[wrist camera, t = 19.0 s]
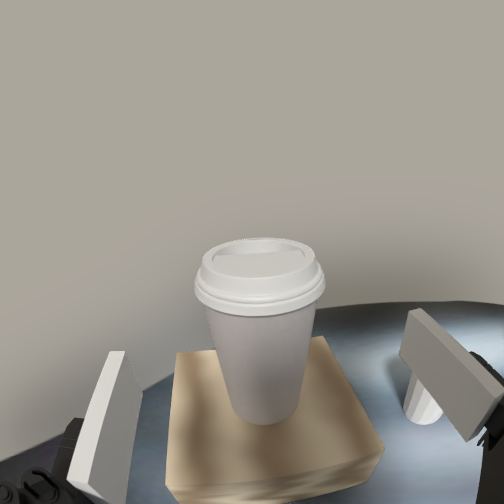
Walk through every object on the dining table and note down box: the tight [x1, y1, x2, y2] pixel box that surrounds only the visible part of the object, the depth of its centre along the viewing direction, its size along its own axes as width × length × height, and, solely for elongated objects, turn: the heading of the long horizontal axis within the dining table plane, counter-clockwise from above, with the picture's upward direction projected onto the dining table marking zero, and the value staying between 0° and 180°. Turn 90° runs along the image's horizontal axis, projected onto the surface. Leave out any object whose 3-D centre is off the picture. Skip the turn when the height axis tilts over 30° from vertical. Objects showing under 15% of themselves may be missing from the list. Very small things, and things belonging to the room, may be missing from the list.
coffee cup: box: [194, 238, 326, 425], centre depth 24 cm, size 10×10×15 cm
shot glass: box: [403, 372, 443, 425], centre depth 28 cm, size 7×7×7 cm
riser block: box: [165, 336, 385, 504], centre depth 27 cm, size 18×18×7 cm
